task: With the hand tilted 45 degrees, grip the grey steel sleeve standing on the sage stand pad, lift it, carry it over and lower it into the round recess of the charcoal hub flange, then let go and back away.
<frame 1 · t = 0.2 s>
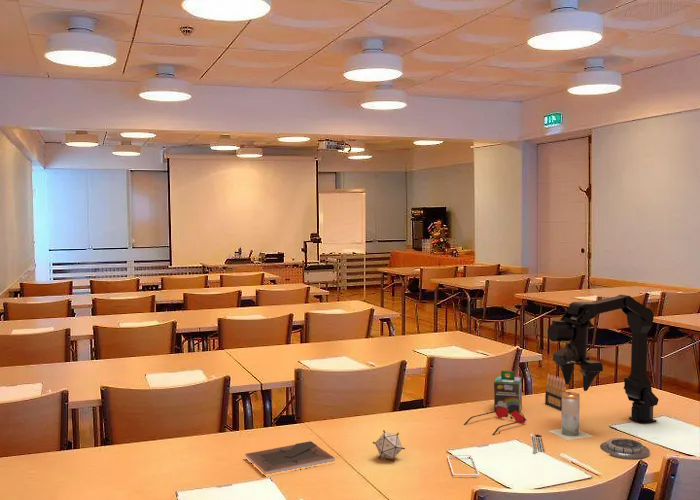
hand: (576, 387, 229), 14 cm above the table, tool pointing down, fingers open, 9 cm apart
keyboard: (541, 447, 216), on the table
ammunition clip: (555, 408, 256), on the table
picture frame: (289, 464, 204), on the table
game die: (388, 459, 205), on the table
stand pad: (570, 435, 225), on the table
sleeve: (570, 433, 225), point 1 cm above the table, touching stand pad
hub flange: (624, 451, 210), on the table
chalk box: (507, 410, 254), on the table
glasses: (495, 427, 236), on the table
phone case: (462, 469, 198), on the table
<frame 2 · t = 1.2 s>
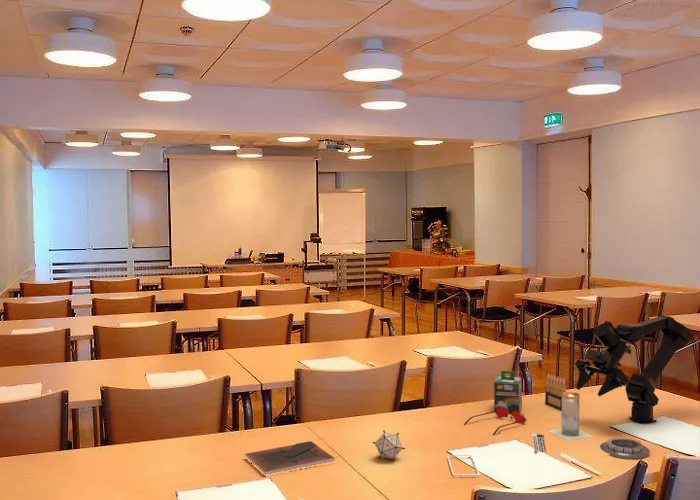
hand: (587, 392, 227), 13 cm above the table, tool tilted 45°, fingers open, 9 cm apart
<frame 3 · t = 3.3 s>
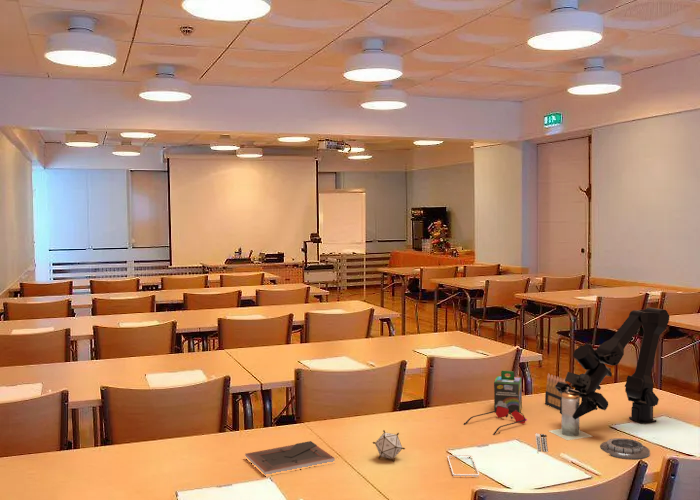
hand: (567, 416, 224), 7 cm above the table, tool tilted 45°, fingers closed on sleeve, 5 cm apart
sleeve: (570, 433, 225), point 1 cm above the table, touching gripper, stand pad
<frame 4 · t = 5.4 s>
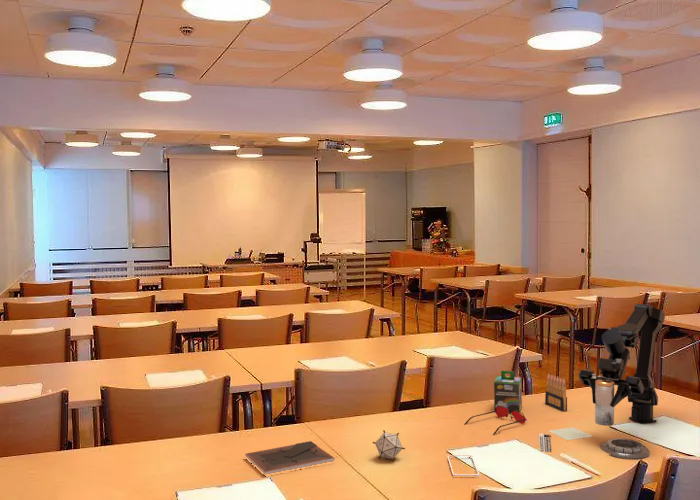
hand: (603, 404, 212), 13 cm above the table, tool tilted 45°, fingers closed on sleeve, 5 cm apart
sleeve: (604, 422, 213), point 7 cm above the table, touching gripper
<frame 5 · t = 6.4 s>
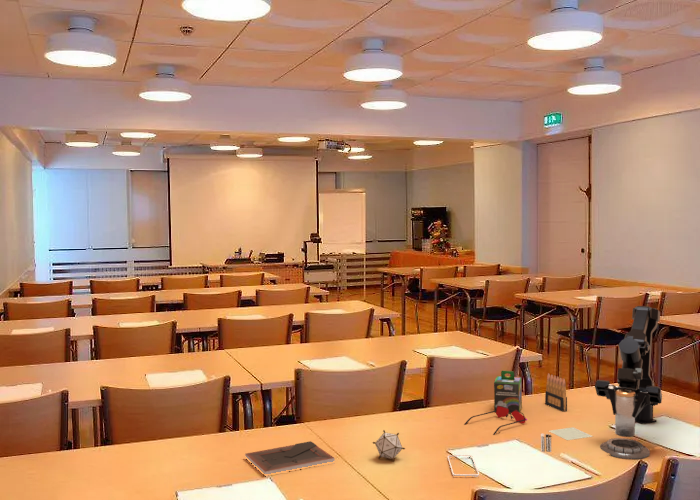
hand: (624, 415, 208), 11 cm above the table, tool tilted 45°, fingers closed on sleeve, 5 cm apart
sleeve: (624, 433, 210), point 5 cm above the table, touching gripper
when the fingers open (8 cm above the table, at t = 7.4 s): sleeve drops 2 cm, resting on hub flange.
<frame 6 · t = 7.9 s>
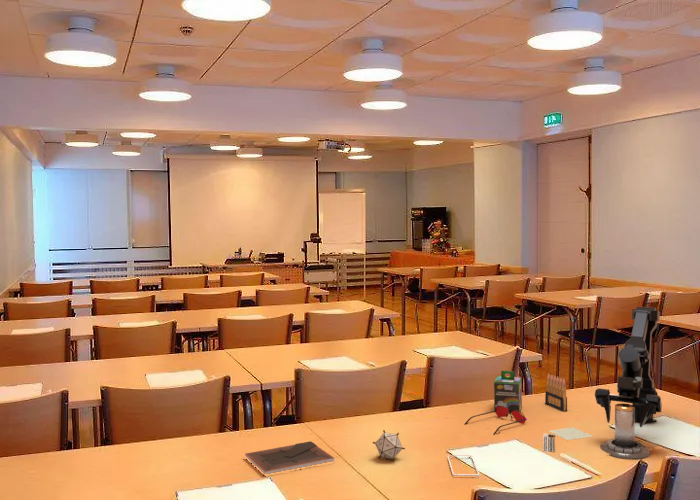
hand: (624, 424, 208), 9 cm above the table, tool tilted 45°, fingers open, 9 cm apart
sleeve: (624, 448, 210), point 1 cm above the table, touching hub flange
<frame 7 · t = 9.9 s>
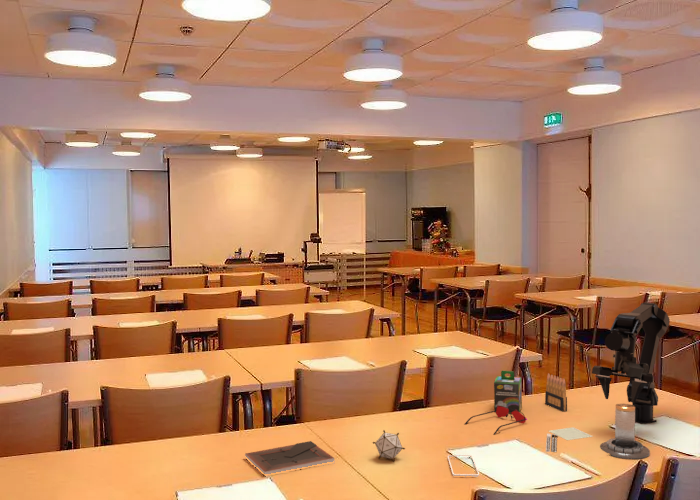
hand: (620, 400, 225), 11 cm above the table, tool pointing down, fingers open, 9 cm apart
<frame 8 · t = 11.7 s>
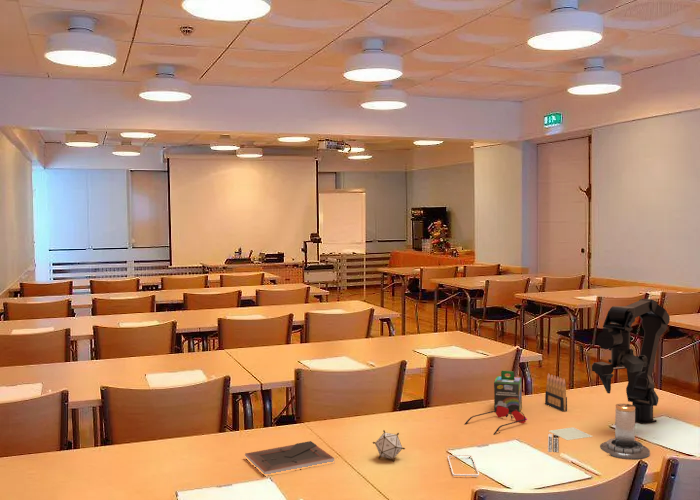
hand: (619, 391, 228), 13 cm above the table, tool pointing down, fingers open, 9 cm apart
at the end: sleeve 0.1 cm off-centre on the hub flange, point 0.8 cm above the hub flange's base; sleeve tilted 0°; the gripper is holding nothing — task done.
